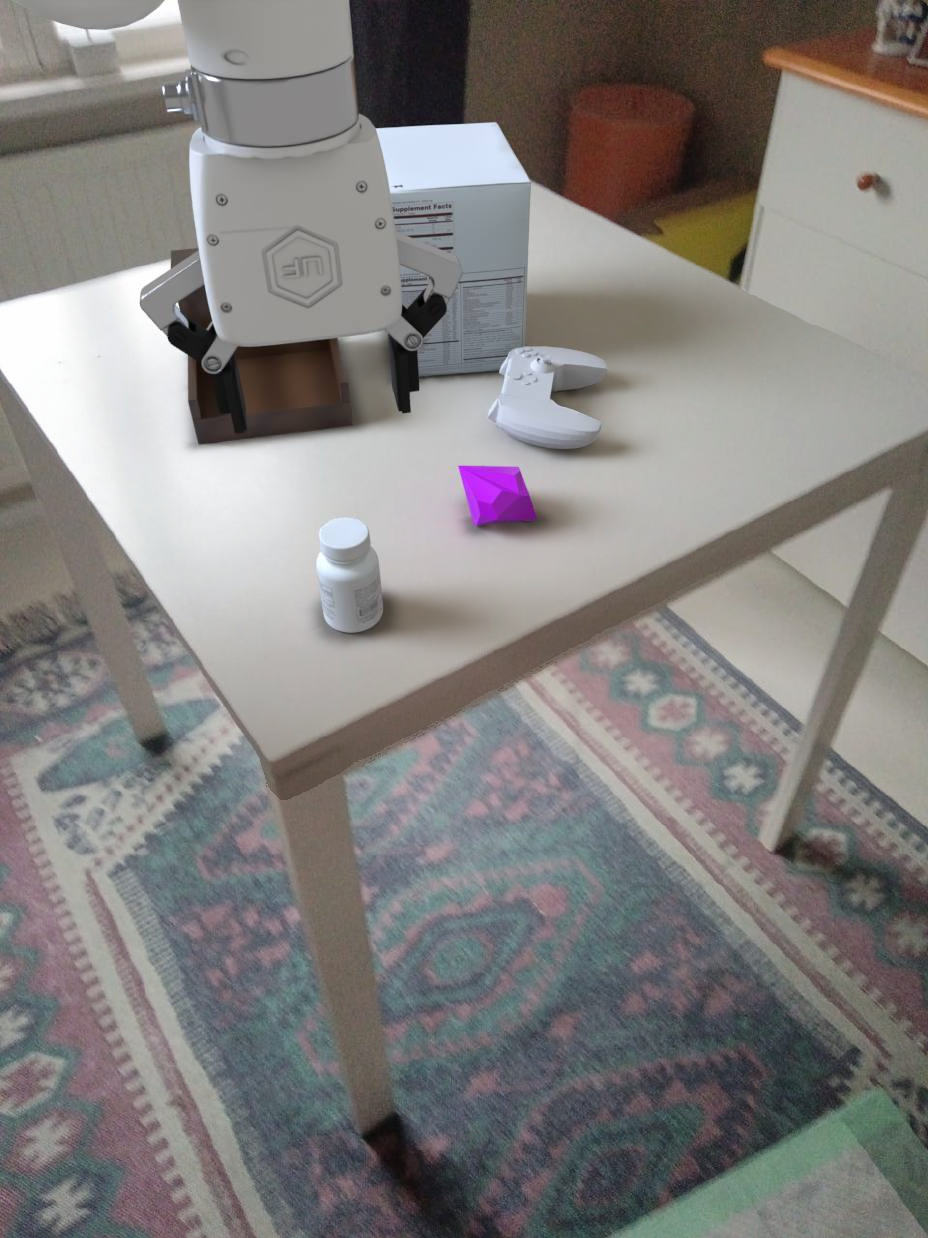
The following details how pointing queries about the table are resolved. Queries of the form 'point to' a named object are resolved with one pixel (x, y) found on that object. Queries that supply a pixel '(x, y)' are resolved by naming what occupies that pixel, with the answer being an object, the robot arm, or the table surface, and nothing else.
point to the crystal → (496, 494)
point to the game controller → (546, 396)
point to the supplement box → (464, 236)
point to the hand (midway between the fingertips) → (321, 410)
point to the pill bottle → (349, 576)
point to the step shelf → (269, 383)
